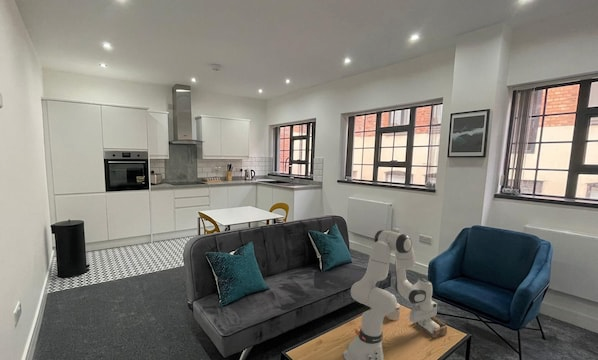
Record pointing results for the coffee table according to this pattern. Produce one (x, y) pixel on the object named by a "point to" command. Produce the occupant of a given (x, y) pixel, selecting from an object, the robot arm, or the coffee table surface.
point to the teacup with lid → (394, 313)
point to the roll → (430, 325)
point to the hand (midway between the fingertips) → (422, 325)
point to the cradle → (438, 331)
